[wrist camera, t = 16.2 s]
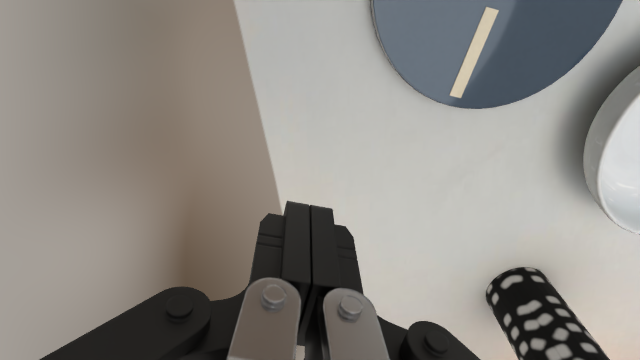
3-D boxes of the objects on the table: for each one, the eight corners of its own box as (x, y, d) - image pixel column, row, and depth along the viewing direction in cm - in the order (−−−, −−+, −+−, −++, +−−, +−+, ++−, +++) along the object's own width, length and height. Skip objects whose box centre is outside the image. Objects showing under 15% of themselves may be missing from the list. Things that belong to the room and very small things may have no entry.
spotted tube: (558, 271, 51) (690, 430, 33) (530, 314, 55) (635, 476, 37) (500, 263, 50) (605, 423, 32) (476, 308, 54) (558, 471, 36)
